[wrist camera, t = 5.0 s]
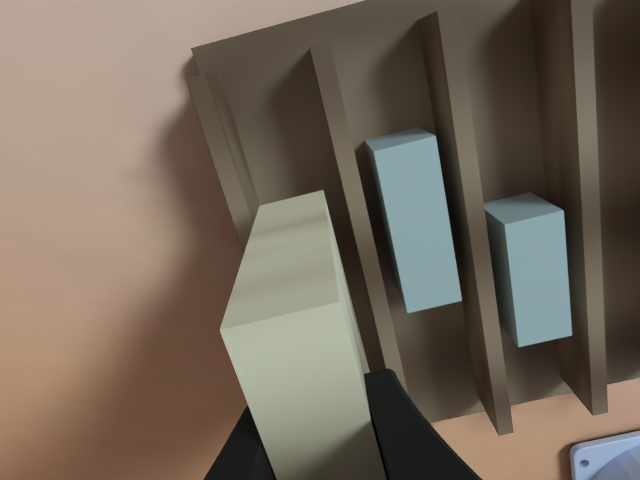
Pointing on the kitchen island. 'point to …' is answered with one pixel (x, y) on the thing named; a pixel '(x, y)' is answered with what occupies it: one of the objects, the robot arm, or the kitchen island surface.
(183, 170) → the kitchen island surface
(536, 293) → the offcut
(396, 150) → the offcut
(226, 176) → the rack
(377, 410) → the robot arm
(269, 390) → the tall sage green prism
